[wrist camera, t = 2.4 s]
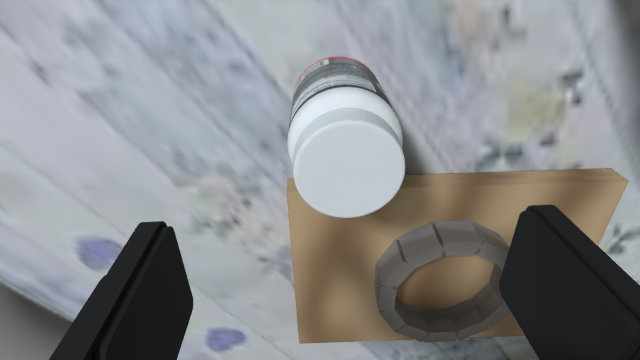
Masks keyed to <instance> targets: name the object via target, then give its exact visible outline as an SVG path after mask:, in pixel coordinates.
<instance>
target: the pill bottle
mask: <svg viewBox="0 0 640 360" xmlns="http://www.w3.org/2000/svg"><path fill="white" fill-rule="evenodd" d="M402 145H403V134H402V128H401V125H400V122H399V120H398V118H397V115H396V113H395V111H394V110H393V108H392V106H391V105H390V103H389V101H388V99H387V97H386V95H385V93H384V92H383V90H382V88H381V86H380V85H379V83H378V81H377V79H376V77H375V75H374V74H373V73H372V72H371V70H370V69H369V68H368V67H367V66H365V65H364V64H363V63H361V62H359V61H357V60H355V59H352V58H349V57H345V56H330V57H326V58H323V59H320V60H318V61H316V62H314V63H313V64H311V65H310V66H309V67H308V68H307V69H306V70H305V71H304V72H303V73H302V74H301V76H300V77H299V79H298V81H297V83H296V86H295V89H294V94H293V103H292V111H291V118H290V125H289V131H288V152H289V157H290V160H291V163H292V165H293V176H294V182H295V185H296V188H297V190H298V192H299V193H300V195H301V196H302V198H303V199H304V200H305V201H306V202H307V203H308V204H309V205H310V206H311V207H312V208H314V209H315V210H317V211H319V212H321V213H323V214H326V215H329V216H333V217H341V218H352V217H360V216H363V215H366V214H369V213H372V212H374V211H376V210H378V209H380V208H381V207H383V206H384V205H385V204H387V203H388V202H389V201H390V200H391V199H392V198H393V197H394V196H395V194H396V193H397V192H398V190H399V189H400V186H401V184H402V182H403V179H404V175H405V158H404V154H403V151H402Z"/></svg>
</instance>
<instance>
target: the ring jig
mask: <svg viewBox="0 0 640 360" xmlns="http://www.w3.org/2000/svg"><path fill="white" fill-rule="evenodd" d="M628 182H629V181H628V180H627V179H625V178H624V177H623V176H621V175H620V174H618V173H617V172H615V171H614V170H613V169H611V168H606V169H575V170H544V171H513V172H482V173H451V174H420V175H404V179H403V182H402V184H401V186H400V189H399V190H398V192H397V193H396V194H395V196H394V197H393V198H392V199H391V200H390V201H389V202H388V203H387V204H385V205H384V206H383V207H381V208H380V209H378V210H376V211H374V212H372V213H369V214H366V215H363V216H360V217H352V218H341V217H333V216H329V215H326V214H323V213H321V212H319V211H317V210H315V209H314V208H312V207H311V206H310V205H309V204H308V203H307V202H306V201H305V200H304V199H303V198H302V196H301V195H300V193H299V192H298V190H297V188H296V185H295V182H294V179H288V183H287V203H288V215H289V226H290V238H291V250H292V262H293V274H294V286H295V298H296V310H297V321H298V333H299V343H326V342H355V341H383V340H411V339H416V340H418V341H421V342H422V341H423V340H424V342H440V341H456V339H457V338H458V340H461V339H464V338H467V337H496V336H524V335H525V334H524V333H523V331H522V329H521V328H520V326H519V324H518V323H517V321H516V319H515V318H514V316H513V314H512V313H511V311H510V309H509V308H508V306H507V305H506V303H505V301H504V300H503V298H502V296H501V294H500V291H499V281H500V278H501V275H502V272H503V268H504V265H505V262H506V258H507V255H508V252H509V248H510V245H511V242H512V238H513V235H514V232H515V228H516V225H517V222H518V218H519V215H520V213H521V212H522V211H525V210H526V208H527V207H528V206H531V205H550V204H551V205H554V206H556V207H557V208H558V209H559V210H560V211H561V212H562V213H564V214H565V215H566V216H567V217H568V218H569V219H570V220H571V221H572V222H573V223H574V224H575V225H576V226H577V227H578V228H579V229H580V230H581V231H583V232H584V233H585V234H586V235H587V236H588V237H589V238H590V239H591V240H592V241H593V242H594V243H595V244H596V245H597V246H598V245H599V243H600V240H601V238H602V236H603V234H604V232H605V230H606V228H607V226H608V224H609V222H610V219H611V217H612V215H613V213H614V211H615V209H616V207H617V205H618V203H619V201H620V198H621V196H622V194H623V192H624V190H625V188H626V186H627V184H628Z"/></svg>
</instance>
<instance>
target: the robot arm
mask: <svg viewBox="0 0 640 360" xmlns="http://www.w3.org/2000/svg"><path fill="white" fill-rule="evenodd" d="M499 291H500V294H501V296H502V298H503V300H504V301H505V303H506V305H507V306H508V308H509V309H510V311H511V313H512V314H513V316H514V318H515V319H516V321H517V323H518V324H519V326H520V328H521V329H522V331H523V333H524V334H525V336H526V338H527V339H528V341H529V343H530V344H531V346H532V348H533V349H534V351H535V353H536V354H537V356H538V358H539V359H540V360H640V285H638V284H637V283H636V282H635V281H634V280H633V279H632V278H631V277H630V276H629V275H628V274H627V273H626V272H625V271H624V270H623V269H622V268H621V267H619V266H618V265H617V264H616V263H615V262H614V261H613V260H612V259H611V258H610V257H609V256H608V255H607V254H606V253H605V252H604V251H603V250H602V249H600V248H599V247H598V246H597V245H596V244H595V243H594V242H593V241H592V240H591V239H590V238H589V237H588V236H587V235H586V234H585V233H584V232H583V231H581V230H580V229H579V228H578V227H577V226H576V225H575V224H574V223H573V222H572V221H571V220H570V219H569V218H568V217H567V216H566V215H565V214H564V213H562V212H561V211H560V210H559V209H558V208H557V207H556V206H554V205H551V204H550V205H531V206H528V207H527V208H526V210H525V211H522V212H521V213H520V215H519V218H518V222H517V225H516V228H515V232H514V235H513V238H512V242H511V245H510V248H509V252H508V255H507V258H506V262H505V265H504V268H503V272H502V275H501V278H500V281H499ZM192 310H193V296H192V293H191V289H190V286H189V282H188V279H187V275H186V271H185V268H184V264H183V261H182V257H181V253H180V250H179V246H178V243H177V239H176V236H175V232H174V229H173V228H172V227H171V226H170V227H167V225H166V223H165V222H163V221H159V222H142V223H140V224H139V225H138V226H137V228H136V229H135V231H134V232H133V234H132V235H131V237H130V239H129V240H128V242H127V243H126V245H125V246H124V248H123V249H122V251H121V253H120V254H119V256H118V257H117V259H116V260H115V262H114V264H113V265H112V267H111V268H110V270H109V271H108V273H107V275H105V276H104V277H103V278H102V279H101V280H100V281H99V283H98V285H97V286H96V288H95V289H94V291H93V292H92V294H91V295H90V297H89V298H88V300H87V302H86V303H85V305H84V306H83V308H82V309H81V311H80V312H79V314H78V315H77V317H76V319H75V320H74V322H73V323H72V325H71V326H70V328H69V329H68V331H67V333H66V334H65V336H64V337H63V339H62V340H61V342H60V343H59V345H58V347H57V348H56V350H55V351H54V353H53V354H52V356H51V357H50V359H49V360H177V357H178V354H179V351H180V348H181V344H182V341H183V338H184V335H185V332H186V329H187V326H188V323H189V320H190V316H191V313H192Z"/></svg>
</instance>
